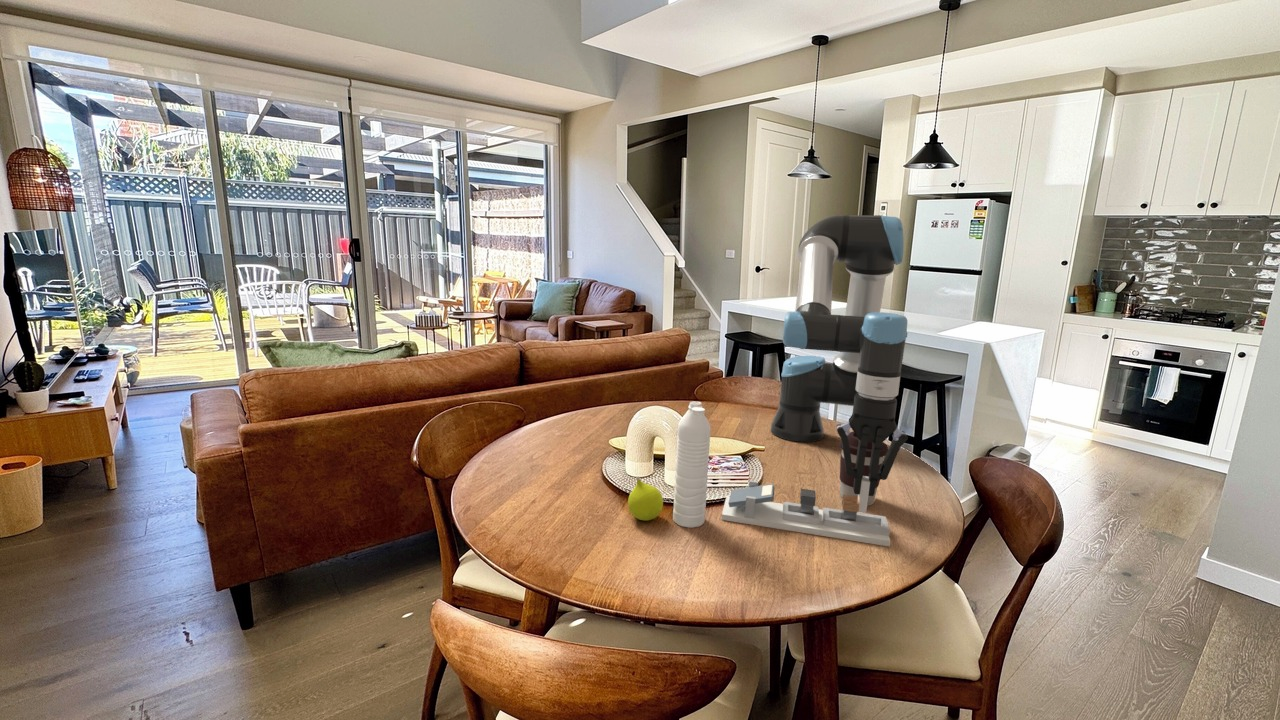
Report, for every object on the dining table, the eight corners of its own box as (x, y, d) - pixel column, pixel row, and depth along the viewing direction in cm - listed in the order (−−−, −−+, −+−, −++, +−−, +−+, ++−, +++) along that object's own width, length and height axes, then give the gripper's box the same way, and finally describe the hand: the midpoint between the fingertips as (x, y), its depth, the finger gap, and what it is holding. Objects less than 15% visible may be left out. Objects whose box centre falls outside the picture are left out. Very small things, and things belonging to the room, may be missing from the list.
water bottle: (671, 512, 117) (677, 397, 112) (702, 512, 117) (709, 398, 112) (675, 533, 109) (681, 410, 103) (708, 534, 109) (716, 411, 103)
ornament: (622, 512, 116) (624, 467, 114) (654, 508, 119) (656, 463, 117) (634, 529, 110) (636, 482, 108) (667, 524, 112) (670, 477, 110)
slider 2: (840, 517, 114) (842, 494, 113) (854, 519, 114) (857, 496, 113) (841, 524, 111) (844, 501, 110) (856, 527, 111) (859, 503, 109)
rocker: (733, 493, 121) (731, 488, 121) (774, 487, 119) (773, 482, 118) (729, 507, 115) (728, 502, 115) (773, 501, 112) (772, 496, 112)
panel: (726, 500, 123) (728, 476, 122) (882, 524, 115) (886, 498, 114) (721, 519, 115) (723, 494, 114) (889, 546, 107) (893, 519, 106)
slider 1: (798, 510, 116) (801, 488, 115) (812, 512, 116) (815, 490, 115) (798, 518, 113) (801, 495, 112) (813, 520, 113) (815, 497, 111)
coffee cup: (884, 512, 120) (894, 446, 117) (836, 506, 122) (844, 441, 119) (875, 492, 130) (883, 431, 127) (830, 487, 132) (838, 426, 129)
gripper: (841, 396, 104) (828, 512, 109) (917, 404, 101) (900, 523, 106) (838, 386, 111) (825, 496, 116) (909, 393, 108) (893, 505, 113)
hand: (861, 509), depth 111 cm, fingers closed
